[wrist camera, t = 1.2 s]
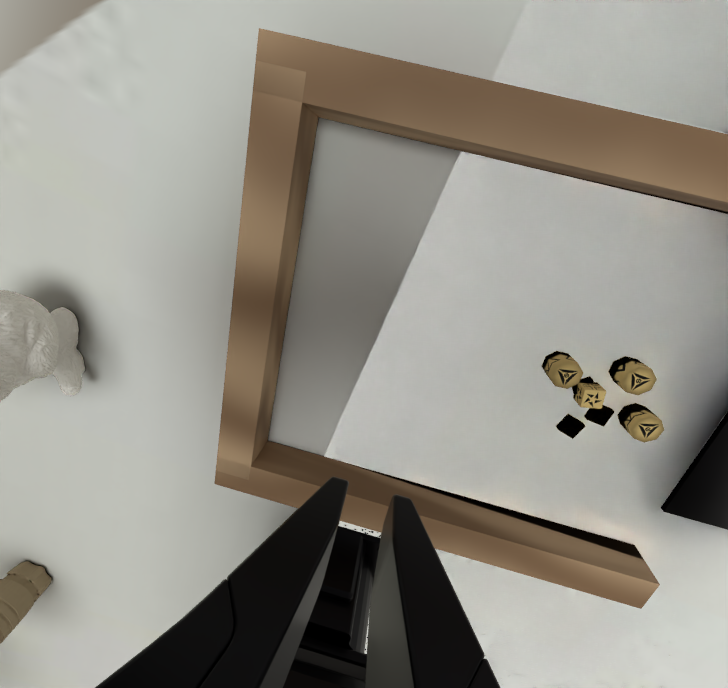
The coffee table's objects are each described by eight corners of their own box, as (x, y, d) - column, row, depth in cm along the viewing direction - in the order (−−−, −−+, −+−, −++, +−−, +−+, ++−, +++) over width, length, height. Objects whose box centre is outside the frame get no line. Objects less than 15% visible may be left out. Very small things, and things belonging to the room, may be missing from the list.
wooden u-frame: (618, 567, 23) (641, 608, 20) (234, 457, 24) (214, 483, 22) (880, 191, 15) (966, 188, 12) (282, 54, 16) (259, 28, 14)
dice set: (537, 348, 19) (549, 362, 18) (646, 335, 18) (670, 349, 17) (541, 430, 21) (552, 451, 19) (641, 422, 20) (663, 444, 18)
